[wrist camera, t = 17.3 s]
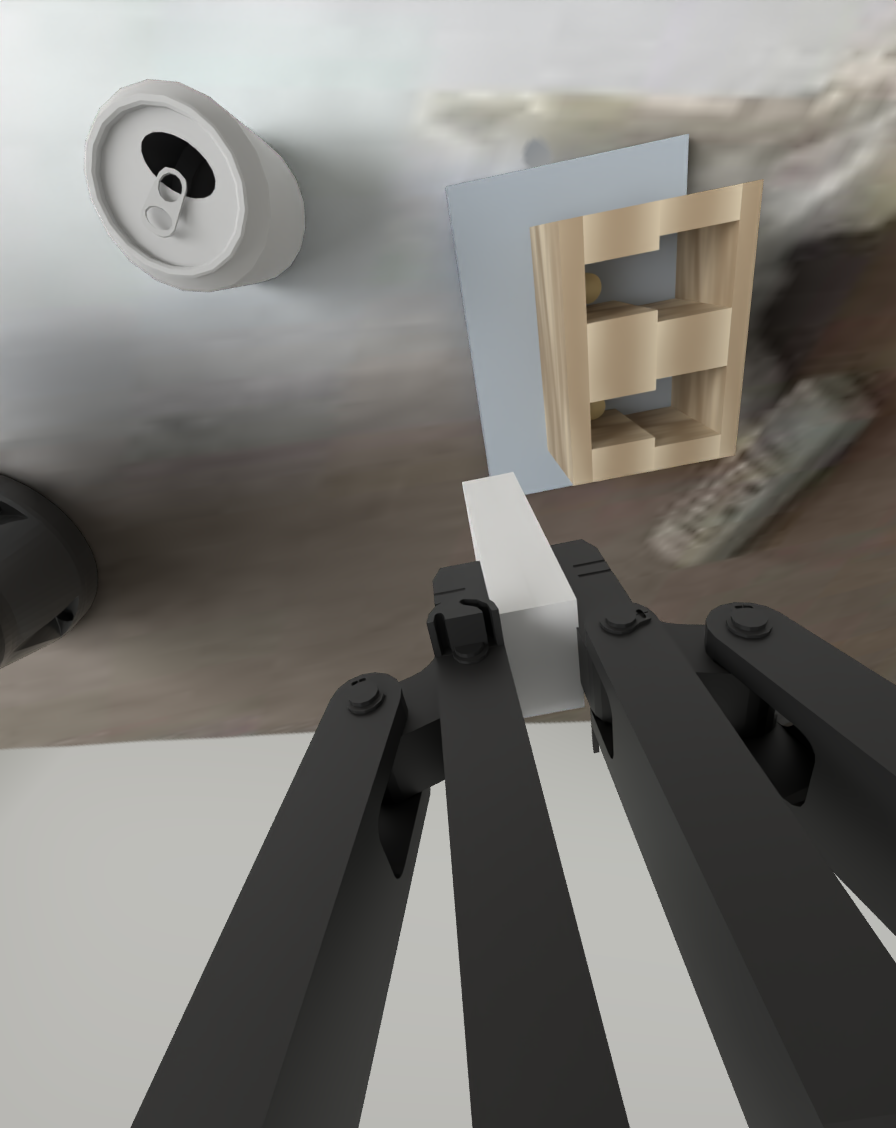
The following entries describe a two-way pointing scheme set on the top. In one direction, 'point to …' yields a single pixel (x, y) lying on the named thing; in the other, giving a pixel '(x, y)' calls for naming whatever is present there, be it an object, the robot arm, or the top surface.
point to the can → (191, 189)
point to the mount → (507, 295)
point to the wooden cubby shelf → (647, 334)
